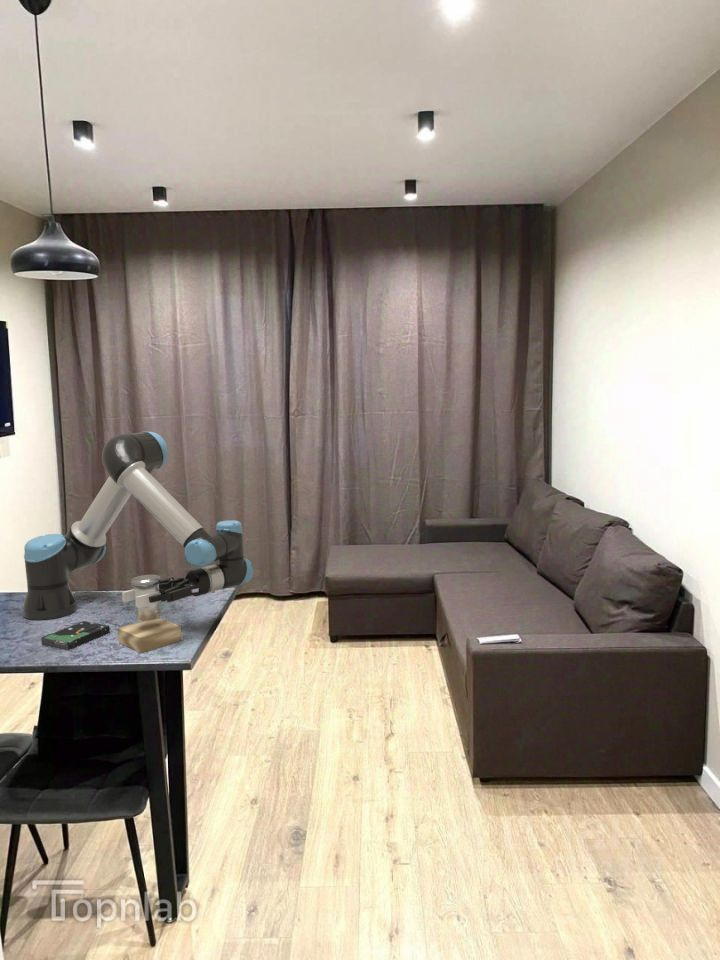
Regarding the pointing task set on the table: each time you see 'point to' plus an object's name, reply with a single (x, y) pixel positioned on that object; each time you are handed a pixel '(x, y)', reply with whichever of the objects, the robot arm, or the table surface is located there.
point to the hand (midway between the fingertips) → (129, 599)
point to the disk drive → (75, 635)
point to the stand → (149, 634)
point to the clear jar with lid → (146, 586)
